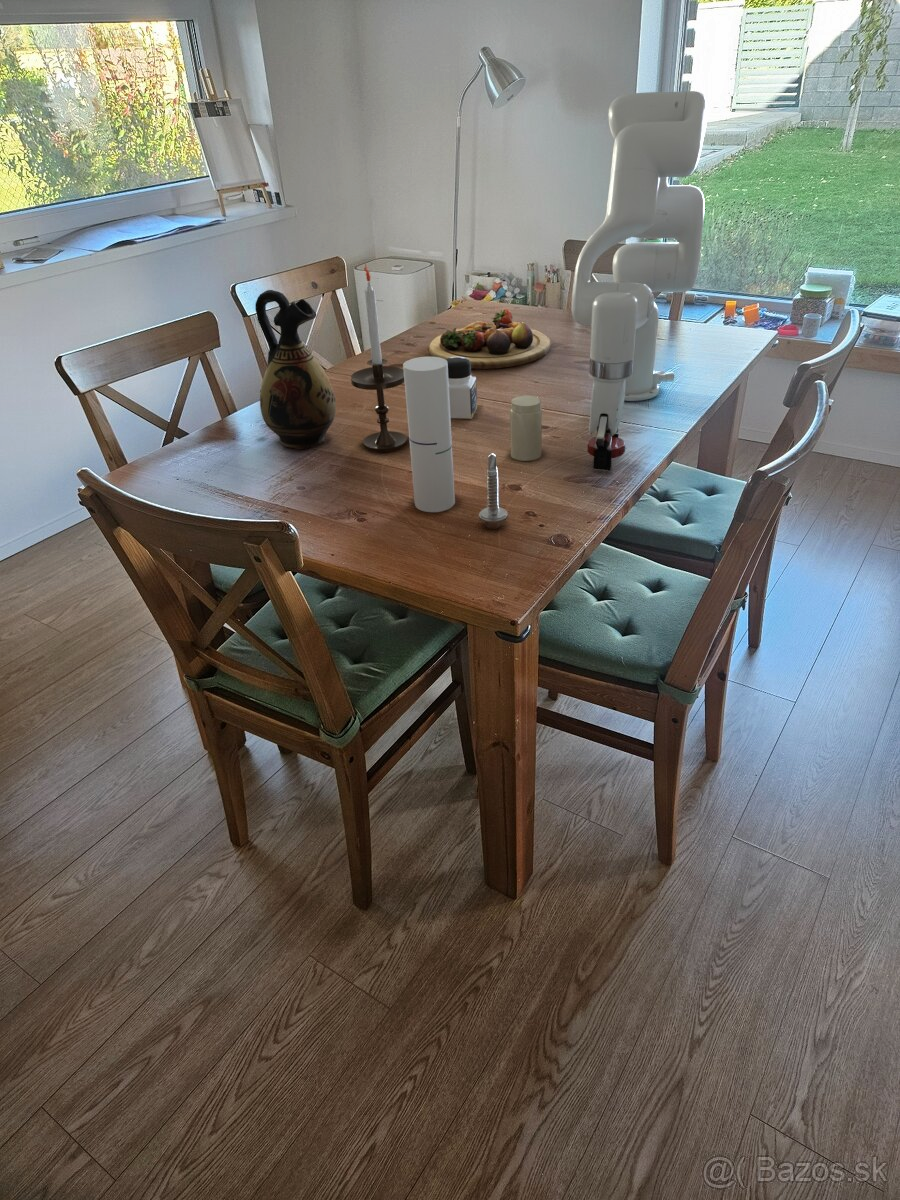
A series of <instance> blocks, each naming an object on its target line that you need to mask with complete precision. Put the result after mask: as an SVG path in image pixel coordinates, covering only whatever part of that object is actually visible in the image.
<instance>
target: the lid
mask: <svg viewBox="0 0 900 1200" xmlns="http://www.w3.org/2000/svg"><path fill="white" fill-rule="evenodd" d="M605 440H607V442H608V437H605ZM595 441H596V436H594V437H591V438H590V439H589V440H588V441H587V453H588V454H589V456H591V457H594V448H595ZM607 444H608V443H607ZM611 449H612V459H616V458H619V457H622V456H623V455H624V454H625V452H626V442H625V440H624V439H623V438H621V437H615V436H612V441H611Z"/></svg>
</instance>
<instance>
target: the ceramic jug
mask: <svg viewBox="0 0 900 1200" xmlns="http://www.w3.org/2000/svg"><path fill="white" fill-rule="evenodd" d="M273 302H275V303H276V304H277V305H278V307H279V310H278V311H277V312H276V314H275V315H274V317H273V323H274V326H276V327H279V328H280V335H279V339H277V337H276V335H275V332H274V330H273V328H272V325H271V322H270V319H269V316H268V314H267V307H266V306H267V304H269V303H273ZM254 309H255V313H256V318H257V322H258V325H259V327H260V330H261V332H262V334H263V336H264V339H265V341H266V342H267V345H268V349H269V350H268V354H267V365H266V366H267V368H266V369H265V372H264V375H263V378H262V380H261V385H260V390H259V407H260V413H261V416H262V419H263V421H264V423H265V425H266V427H267V428H268V429H270V430H271V431H272V432H273V433H274V434H275V435H276V436H278V437H279V441H278V442H279V443H280V444H281V445H283V446H284V447H286V448H290V449H295V450H306V449H309V448H314V447H317V446H320V445H322V444H324V443H325V440H326V437H325V436H326V433H327V431H328V430H329V428H330V427H331V425H332V424H333V422H334V419H335V417H336V416H335V415H336V411H337V403H336V395H335V392H334V390H333V387H332V384H331V381H330V379H329V377H328V375H327V372H326V371H325V369H324V368H323V367H322V365H321V364H320V362H319V361H318V360H317V358H316V357H315V356H314V354H313V353H312V352H311V350H309V349H308V347H307V346H306V345H305V344H304V343H303V340H302V339H301V338H300V335H299V333H298V329H299V327H300V326H302V325H303V324H305V323H307V322H310V321H313V320H314V319H316V318H317V312H316V310H314V309H313V307H312V305H311V304H310V303H309V302H308V301H306V300H305V299H303V298H302V299H299V300H298V301H296V302H295V301H292V302H291V303H290V301H289V300H288V298H287V296H286V295H285V294H284V293H283V292H280V291H277V290H274V289H268V290H265V291H263V292H261V293H260V294H259V295H258V296H257V298H256V301H255V308H254Z"/></svg>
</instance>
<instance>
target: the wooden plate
mask: <svg viewBox="0 0 900 1200" xmlns="http://www.w3.org/2000/svg"><path fill="white" fill-rule="evenodd" d="M491 320H492V323H490V322H486V321H482V320H477V321H473V322H472V323H469V324H468V325H465V327H463V328H457V327H455V328H453V329H452V330H449V329H447V330H446V331H444V332H443V333H441V334H439V335H437V336H436V337H435V338H434V339H432V341H431V342H430V344H429V346H428V350H429V354H430V356H431V357H439V358H443V359H445V360H446V359H448V358H450V357H457V356H459V357H465V358H467V359H469V360H470V361H471V369H481V370H482V369H483V370H485V369H486V370H487V369H502V368H511V367H515V366H520V365H524V364H528V363H531V362H534V361H537V360H538V359H540V358H542V357H544V356H545V355H546V354H547V353H548V352H549V351H550V349H551V340H550V338H549V337H548V336H547V335H546V334H545V333H543V332H541V331H539V330H536V329H533V328H531V327H530V326H529V325H528V324H527V323H525V322H523V321H522V322H518V321H516V322H515V321H513V313H512V312H511V310H510V309H509V308H504V309H501V310H500V313H499V312H497V311H496V313H495V314H494V316H493V317H492V318H491Z"/></svg>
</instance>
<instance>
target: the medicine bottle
mask: <svg viewBox="0 0 900 1200" xmlns="http://www.w3.org/2000/svg"><path fill="white" fill-rule="evenodd" d="M446 360H447V364H448V382H449V401H450V419H455V420H456V419H457V420H458V419H459V420H471V419H473V417H474V415H475V413H476V411H477V408H478V388H477V387H478V386H477V377H476V376H472V368H471V361H470V360H469V359H467V358H465V357H459V356H457V357H450V358H448V359H446Z"/></svg>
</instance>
